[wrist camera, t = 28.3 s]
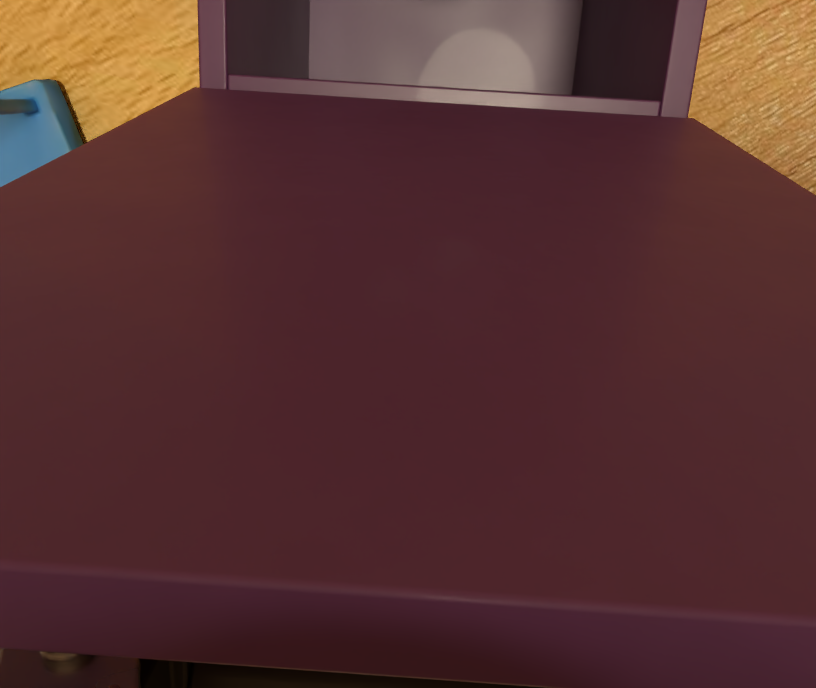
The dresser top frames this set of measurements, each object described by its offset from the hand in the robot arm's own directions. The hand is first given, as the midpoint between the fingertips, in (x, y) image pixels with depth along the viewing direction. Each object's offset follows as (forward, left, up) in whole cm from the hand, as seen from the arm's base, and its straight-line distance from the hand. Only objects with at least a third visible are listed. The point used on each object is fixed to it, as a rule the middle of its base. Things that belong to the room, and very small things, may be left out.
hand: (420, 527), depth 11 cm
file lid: (-4, -3, -2) cm, 5 cm away
